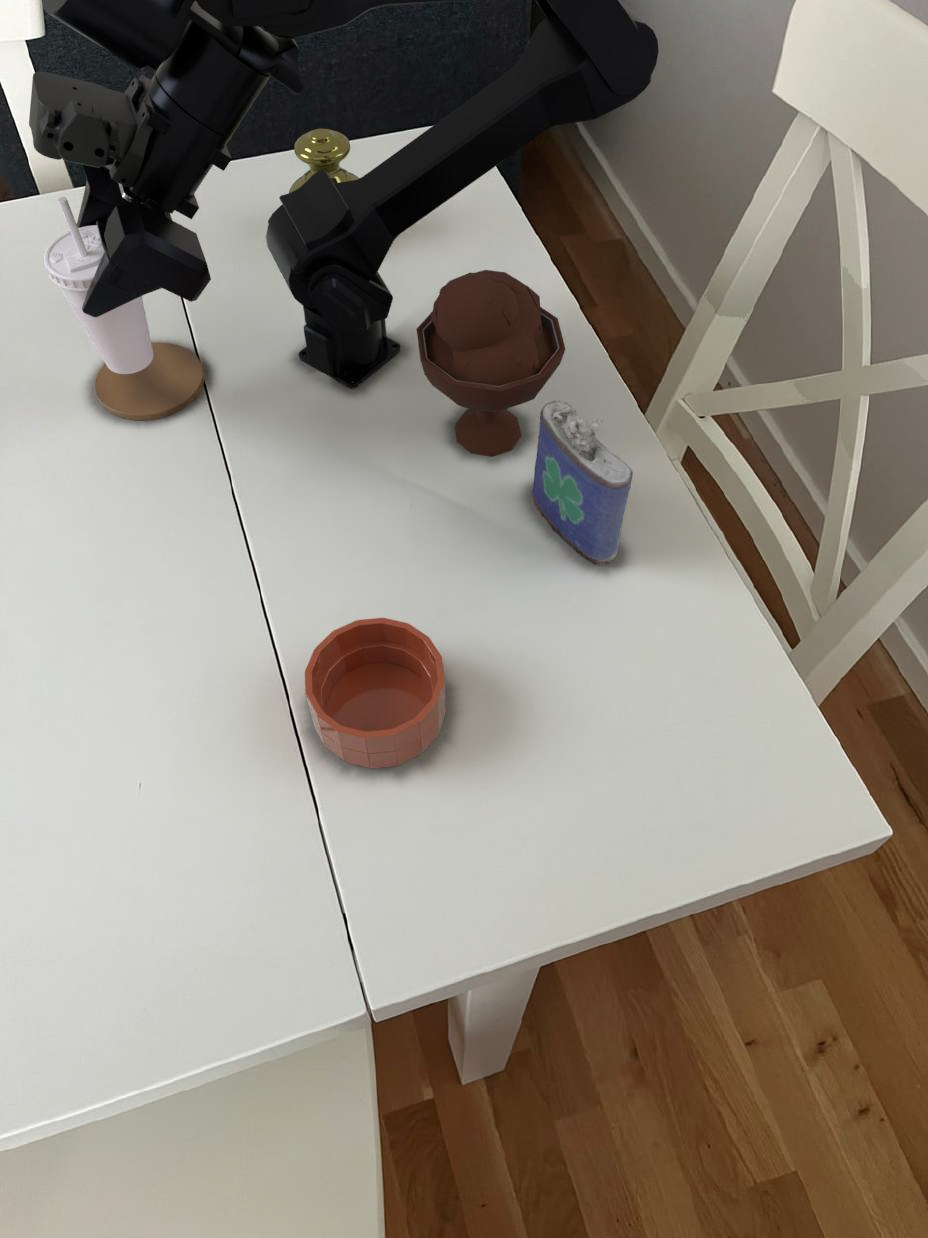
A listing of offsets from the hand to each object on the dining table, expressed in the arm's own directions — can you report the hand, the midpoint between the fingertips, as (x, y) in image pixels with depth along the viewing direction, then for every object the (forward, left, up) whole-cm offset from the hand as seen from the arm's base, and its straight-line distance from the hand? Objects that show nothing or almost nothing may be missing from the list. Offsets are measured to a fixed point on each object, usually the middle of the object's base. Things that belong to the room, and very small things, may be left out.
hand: (82, 285), depth 71 cm
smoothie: (-1, +1, -7) cm, 7 cm away
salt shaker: (-28, -3, -12) cm, 31 cm away
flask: (-12, +36, -12) cm, 40 cm away
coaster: (-3, -1, -12) cm, 13 cm away
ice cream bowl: (-16, +25, -12) cm, 32 cm away
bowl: (+9, +35, -12) cm, 38 cm away
